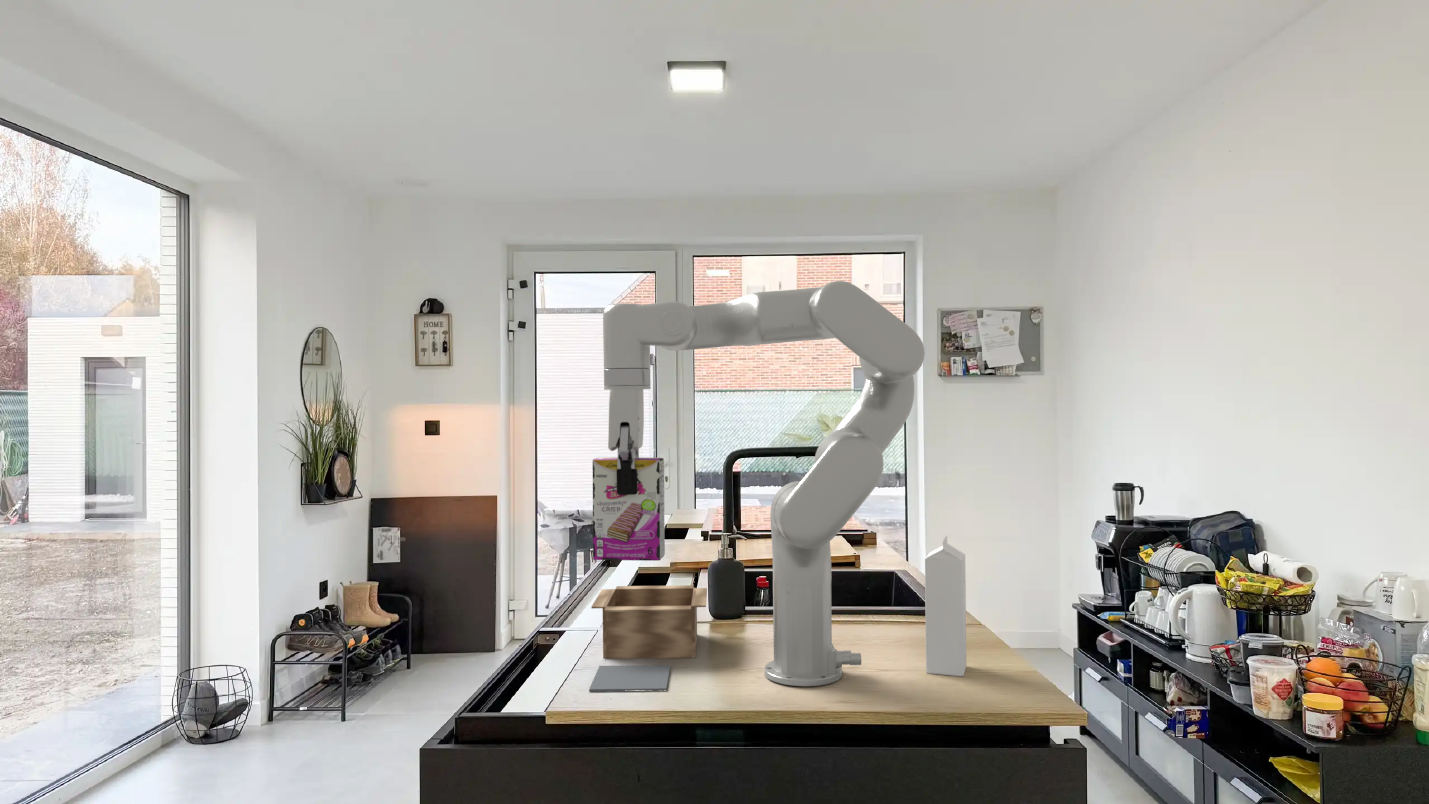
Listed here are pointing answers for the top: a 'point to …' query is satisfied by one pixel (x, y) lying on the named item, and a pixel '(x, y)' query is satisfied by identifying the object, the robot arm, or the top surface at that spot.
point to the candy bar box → (628, 512)
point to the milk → (945, 611)
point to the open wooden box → (650, 621)
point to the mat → (630, 678)
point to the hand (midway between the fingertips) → (629, 491)
